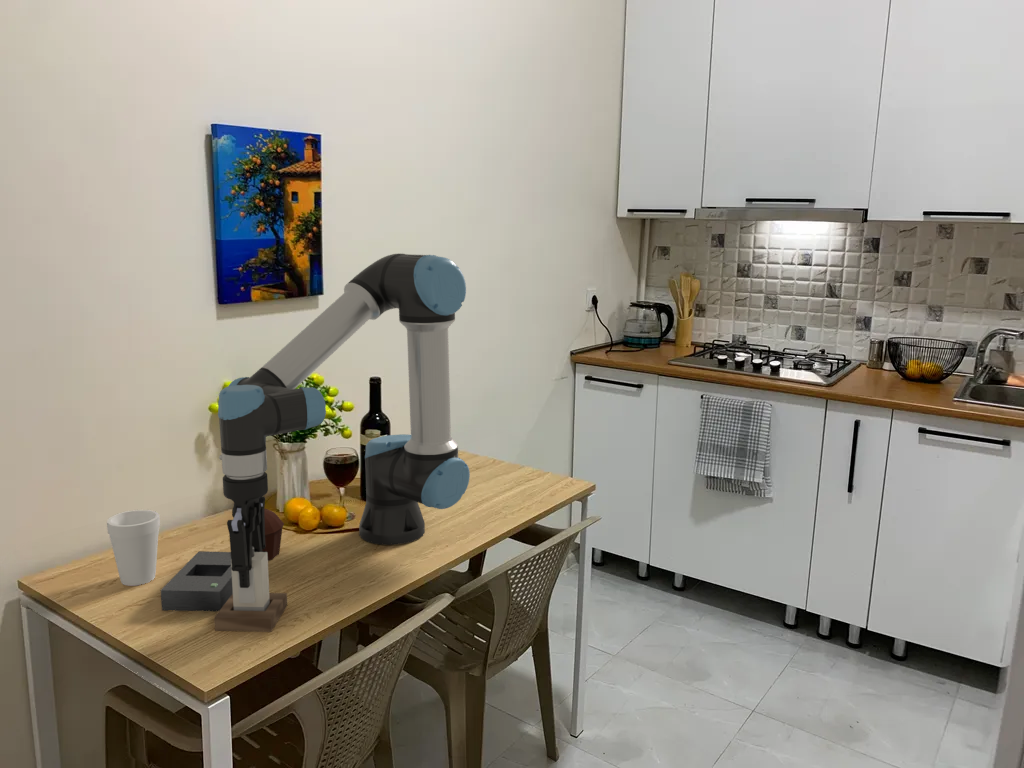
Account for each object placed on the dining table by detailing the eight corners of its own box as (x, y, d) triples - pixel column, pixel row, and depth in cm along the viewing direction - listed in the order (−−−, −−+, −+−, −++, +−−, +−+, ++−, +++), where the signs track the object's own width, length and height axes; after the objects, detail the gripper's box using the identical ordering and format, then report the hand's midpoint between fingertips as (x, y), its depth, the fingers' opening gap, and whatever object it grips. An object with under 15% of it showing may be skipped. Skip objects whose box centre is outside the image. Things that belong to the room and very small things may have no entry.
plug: (241, 612, 150) (237, 543, 147) (270, 612, 150) (266, 544, 147) (234, 621, 147) (230, 551, 144) (264, 622, 146) (260, 552, 144)
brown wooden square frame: (234, 604, 153) (233, 592, 153) (287, 605, 153) (286, 593, 153) (214, 630, 143) (214, 617, 143) (271, 631, 143) (270, 618, 143)
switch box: (199, 569, 168) (198, 550, 167) (252, 570, 168) (251, 551, 167) (161, 610, 150) (160, 589, 150) (220, 611, 150) (219, 590, 149)
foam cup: (160, 586, 160) (155, 524, 158) (108, 591, 157) (103, 528, 155) (165, 566, 169) (161, 507, 166) (117, 571, 166) (112, 511, 164)
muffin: (238, 544, 181) (235, 502, 179) (288, 543, 182) (287, 501, 180) (224, 567, 169) (222, 521, 168) (278, 565, 171) (277, 520, 169)
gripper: (239, 459, 151) (246, 576, 156) (205, 488, 135) (213, 618, 139) (280, 459, 151) (285, 577, 156) (250, 489, 135) (257, 619, 139)
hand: (251, 596), depth 147 cm, fingers closed on plug, 4 cm apart
